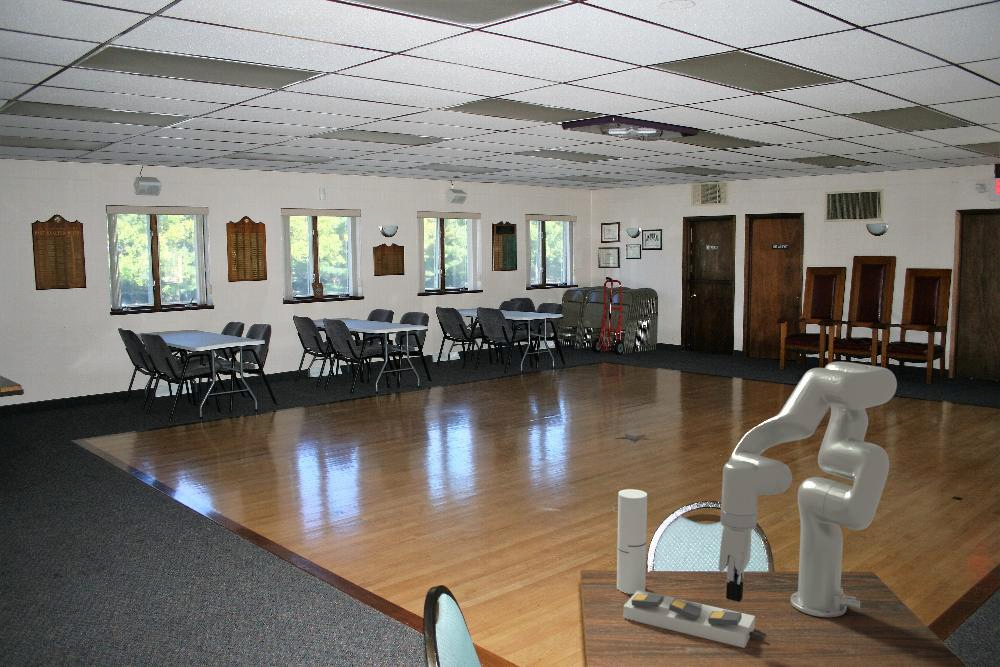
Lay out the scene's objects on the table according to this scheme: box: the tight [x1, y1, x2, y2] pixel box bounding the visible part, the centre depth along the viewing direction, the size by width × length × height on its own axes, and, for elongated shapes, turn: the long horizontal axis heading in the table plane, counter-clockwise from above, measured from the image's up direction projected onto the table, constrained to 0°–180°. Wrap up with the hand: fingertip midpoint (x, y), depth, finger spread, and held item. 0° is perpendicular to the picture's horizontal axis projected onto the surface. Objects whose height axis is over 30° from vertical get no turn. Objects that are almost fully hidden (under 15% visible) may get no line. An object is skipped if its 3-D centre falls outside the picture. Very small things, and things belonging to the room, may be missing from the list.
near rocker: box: [708, 611, 742, 626], centre depth 179 cm, size 6×4×1 cm, turn 60°
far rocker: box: [631, 594, 664, 607], centre depth 188 cm, size 6×4×1 cm, turn 60°
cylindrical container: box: [616, 488, 648, 595], centre depth 203 cm, size 7×7×25 cm
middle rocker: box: [669, 597, 702, 620], centre depth 184 cm, size 6×4×1 cm, turn 61°
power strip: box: [622, 590, 765, 649], centre depth 185 cm, size 31×10×3 cm, turn 60°
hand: (734, 598), depth 177 cm, fingers closed
